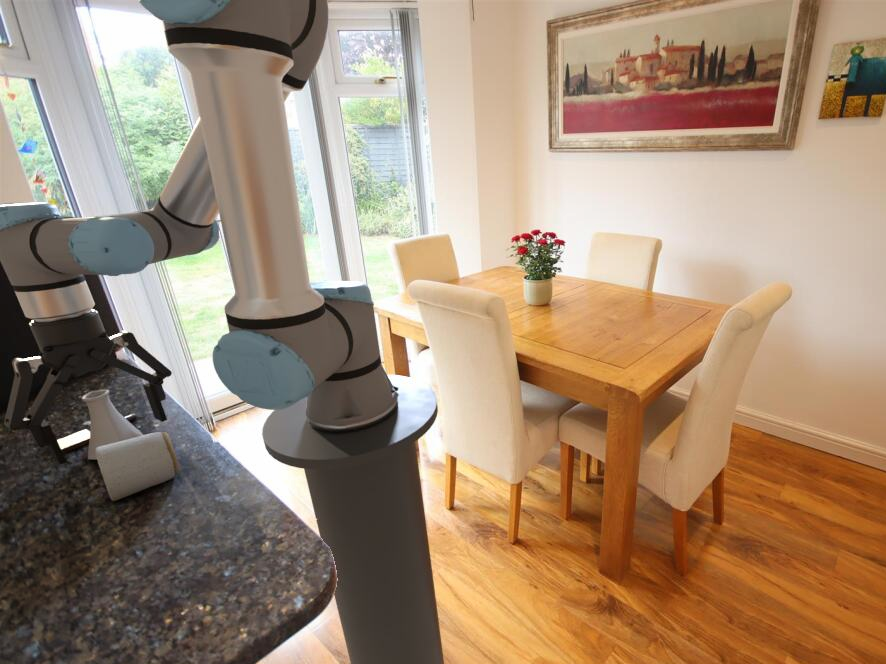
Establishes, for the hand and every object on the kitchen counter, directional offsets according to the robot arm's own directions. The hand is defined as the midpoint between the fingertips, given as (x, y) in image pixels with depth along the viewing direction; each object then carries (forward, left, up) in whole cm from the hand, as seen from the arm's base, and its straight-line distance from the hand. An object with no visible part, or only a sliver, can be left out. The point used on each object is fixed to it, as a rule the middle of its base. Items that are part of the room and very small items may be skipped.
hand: (114, 438), depth 75 cm
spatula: (0, -9, -2) cm, 9 cm away
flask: (0, 0, -2) cm, 2 cm away
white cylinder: (+2, +14, -2) cm, 14 cm away
